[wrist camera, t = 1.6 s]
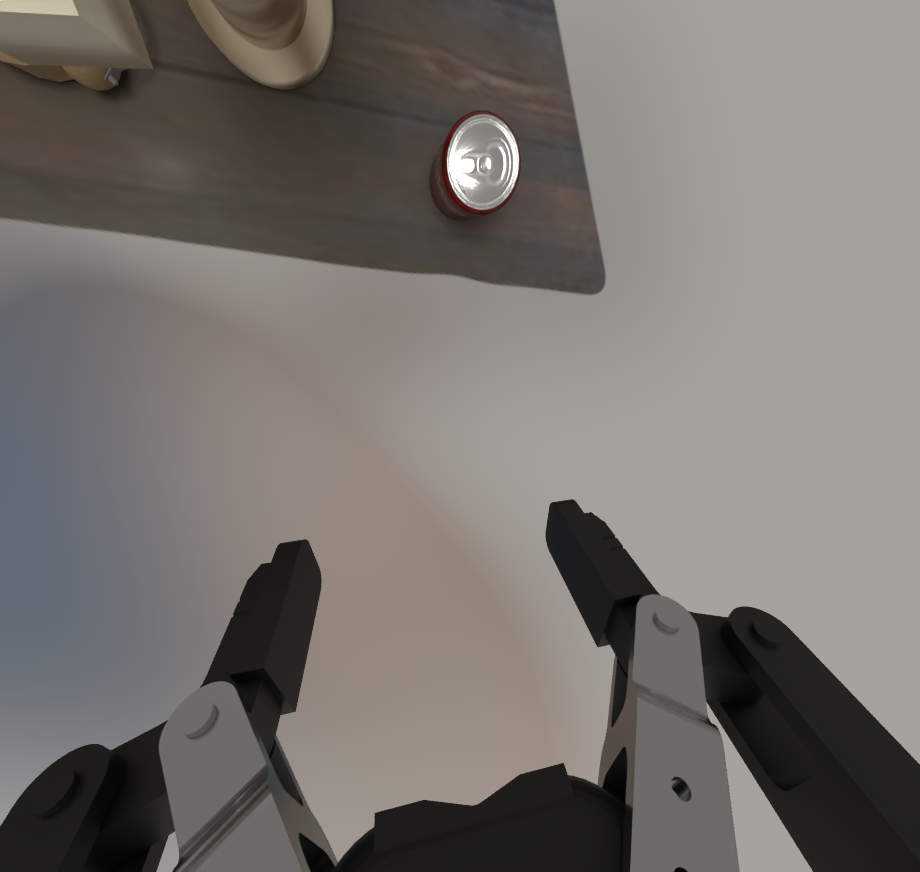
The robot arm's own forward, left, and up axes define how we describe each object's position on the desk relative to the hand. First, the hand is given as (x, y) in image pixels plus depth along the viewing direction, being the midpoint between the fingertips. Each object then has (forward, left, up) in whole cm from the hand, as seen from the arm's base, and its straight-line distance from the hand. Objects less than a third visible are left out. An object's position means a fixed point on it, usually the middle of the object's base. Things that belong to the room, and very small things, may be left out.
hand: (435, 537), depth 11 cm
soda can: (+15, +7, -40) cm, 44 cm away
